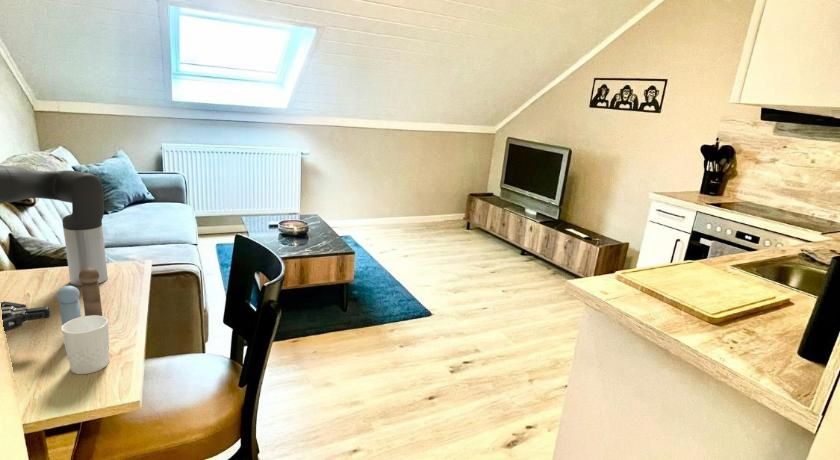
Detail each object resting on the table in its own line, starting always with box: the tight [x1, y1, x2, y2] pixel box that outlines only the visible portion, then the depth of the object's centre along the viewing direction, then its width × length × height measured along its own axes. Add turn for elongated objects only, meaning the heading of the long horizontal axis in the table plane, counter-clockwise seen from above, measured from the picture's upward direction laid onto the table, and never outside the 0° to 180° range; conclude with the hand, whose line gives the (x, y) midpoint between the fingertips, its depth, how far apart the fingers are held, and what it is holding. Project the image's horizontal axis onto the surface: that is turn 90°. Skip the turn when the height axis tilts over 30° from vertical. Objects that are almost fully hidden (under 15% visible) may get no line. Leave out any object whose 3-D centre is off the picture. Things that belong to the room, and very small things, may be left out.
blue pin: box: [56, 285, 82, 327], centre depth 103 cm, size 4×4×14 cm
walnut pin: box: [79, 268, 103, 316], centre depth 114 cm, size 4×4×14 cm
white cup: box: [60, 315, 110, 375], centre depth 95 cm, size 8×8×10 cm
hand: (49, 311), depth 101 cm, fingers closed
